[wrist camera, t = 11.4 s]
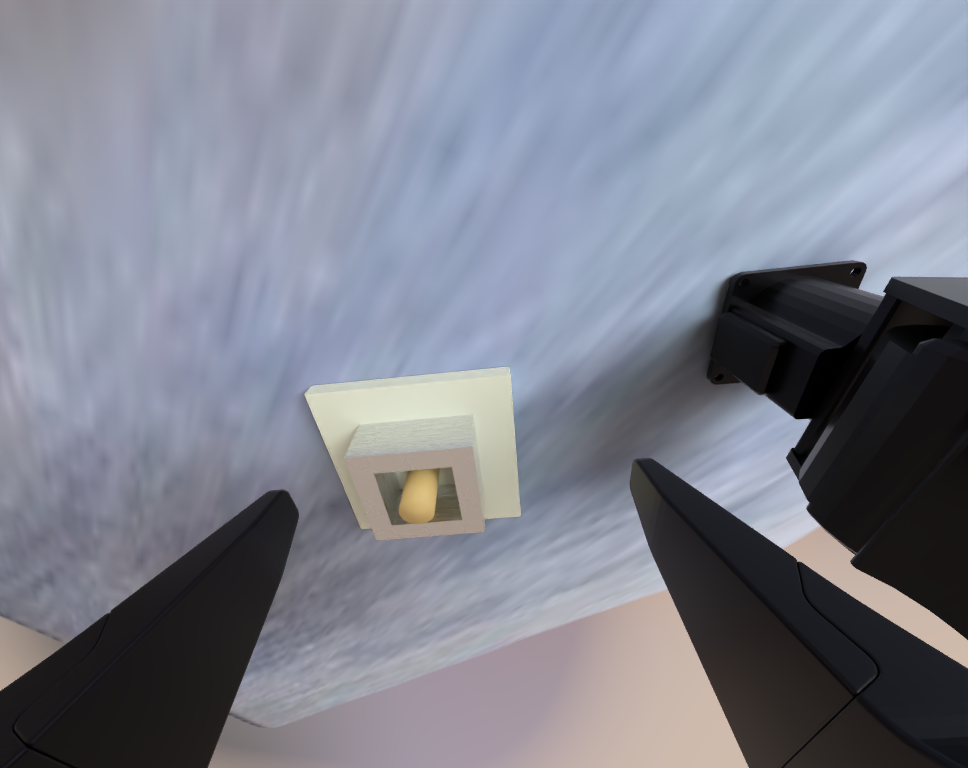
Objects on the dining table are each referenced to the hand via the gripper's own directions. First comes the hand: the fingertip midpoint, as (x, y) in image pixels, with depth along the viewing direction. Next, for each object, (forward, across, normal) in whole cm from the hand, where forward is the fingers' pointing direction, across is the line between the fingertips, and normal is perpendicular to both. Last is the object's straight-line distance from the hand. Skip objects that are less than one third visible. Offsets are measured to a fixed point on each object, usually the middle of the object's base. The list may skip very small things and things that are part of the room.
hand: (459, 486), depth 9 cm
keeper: (+12, +4, +9) cm, 16 cm away
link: (+11, +4, +9) cm, 15 cm away
